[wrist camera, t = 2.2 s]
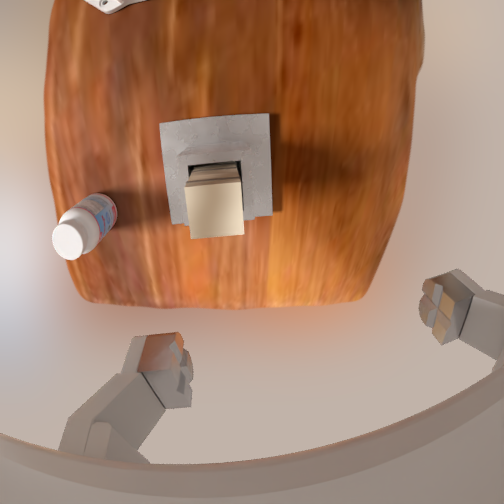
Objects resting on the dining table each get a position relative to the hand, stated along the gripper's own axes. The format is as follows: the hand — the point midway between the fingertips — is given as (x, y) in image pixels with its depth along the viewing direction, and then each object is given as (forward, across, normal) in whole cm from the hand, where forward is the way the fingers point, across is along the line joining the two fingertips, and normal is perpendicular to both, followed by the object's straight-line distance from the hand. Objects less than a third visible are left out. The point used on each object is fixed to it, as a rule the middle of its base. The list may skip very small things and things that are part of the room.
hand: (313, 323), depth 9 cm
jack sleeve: (+32, +4, 0) cm, 33 cm away
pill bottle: (+32, +22, +2) cm, 39 cm away
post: (+30, +4, 0) cm, 31 cm away
